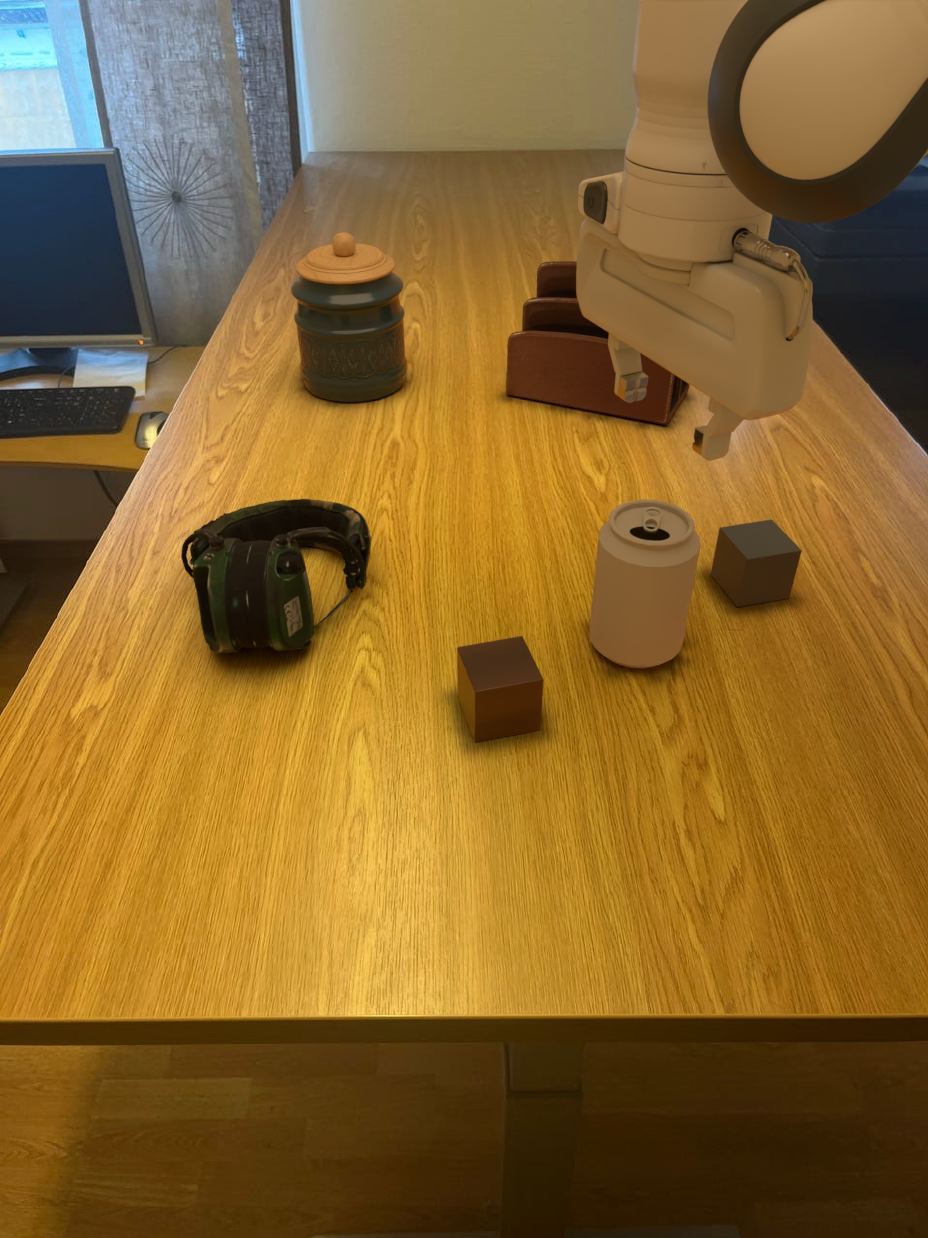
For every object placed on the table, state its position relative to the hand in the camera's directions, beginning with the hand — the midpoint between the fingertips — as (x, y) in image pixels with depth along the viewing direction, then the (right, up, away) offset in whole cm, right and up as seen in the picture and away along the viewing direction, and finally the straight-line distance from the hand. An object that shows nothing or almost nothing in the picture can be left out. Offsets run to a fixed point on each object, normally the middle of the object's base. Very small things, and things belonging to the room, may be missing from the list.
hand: (667, 424), depth 64 cm
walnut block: (-11, -20, +6) cm, 24 cm away
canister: (-27, +16, +52) cm, 61 cm away
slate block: (+11, -10, +18) cm, 24 cm away
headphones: (-30, -12, +17) cm, 36 cm away
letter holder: (+2, +14, +49) cm, 51 cm away
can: (0, -15, +12) cm, 20 cm away
